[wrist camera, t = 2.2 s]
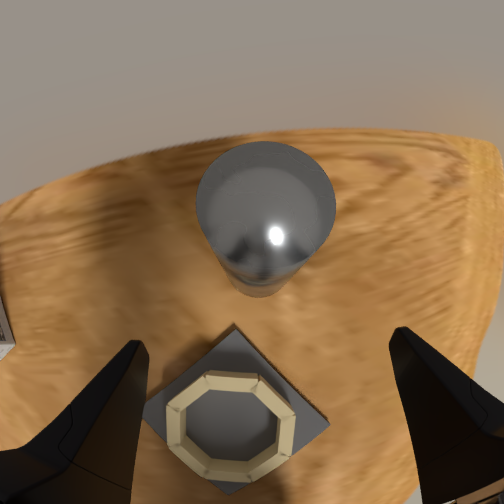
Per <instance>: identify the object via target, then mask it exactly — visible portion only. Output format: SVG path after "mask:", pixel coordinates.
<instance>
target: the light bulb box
mask: <svg viewBox="0 0 504 504" xmlns="http://www.w3.org/2000/svg"><path fill="white" fill-rule="evenodd" d="M14 346H15V342H14V339H13V336H12V333H11V330H10V327H9V324H8V321H7V318H6V315H5V311H4V308H3V304H2V300H1V296H0V361H1V359H2V358H3V357H4V356H5V355H6V354H7V353H8V352H9V351H10V350H11V349H12V348H13V347H14Z"/></svg>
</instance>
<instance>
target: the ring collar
mask: <svg viewBox="0 0 504 504" xmlns="http://www.w3.org/2000/svg"><path fill="white" fill-rule="evenodd" d="M142 418H143V419H144V420H145V421H146V422H147V423H148V424H149V425H150V426H151V427H152V428H153V430H154V431H155V432H156V433H157V434H158V435H159V436H160V437H161V438H162V439H163V440H164V441H165V442H166V443H167V446H169V449H170V450H171V451H172V452H173V453H174V454H175V455H176V456H177V457H178V458H180V459H181V460H182V461H183V462H184V463H185V464H186V465H187V466H188V467H190V468H191V469H192V470H193V471H194V472H195V473H197V474H198V475H199V476H200V477H201V478H202V477H204V479H207V480H209V481H210V482H211V483H213V484H214V485H215V486H216V487H218V488H219V489H220V490H222V491H223V492H224V493H226V494H227V495H230V494H232V493H234V492H236V491H237V490H239V489H241V488H243V487H244V486H246V485H248V484H250V483H251V482H254V481H256V480H258V479H259V478H261V477H263V476H264V475H266V474H267V473H269V472H270V471H272V470H273V469H275V468H276V467H278V466H279V465H281V464H282V463H284V462H285V461H286V460H288V459H289V458H290V457H291V456H292V455H293V454H295V453H296V452H297V451H299V450H300V449H301V448H303V447H304V446H305V445H307V444H308V443H309V442H310V441H312V440H313V439H314V438H315V437H317V436H318V435H319V434H320V433H321V432H323V431H324V430H325V429H326V428H327V427H329V426H330V423H329V422H328V421H327V420H326V419H324V418H323V417H322V416H321V415H320V414H319V413H318V412H317V411H316V410H315V409H314V408H313V407H312V406H311V405H310V404H309V403H308V402H307V401H305V400H304V399H303V398H302V397H301V396H300V395H299V394H298V393H297V392H296V391H295V390H294V389H293V388H292V387H291V386H290V385H289V384H288V383H287V382H286V381H285V380H284V379H283V378H282V377H281V376H280V375H279V374H278V373H277V372H276V371H275V370H274V369H273V368H272V366H271V365H270V364H269V363H268V362H267V361H266V360H265V359H264V358H263V357H262V356H261V355H260V354H259V353H258V352H257V351H256V350H255V349H254V348H253V346H252V345H251V344H250V343H249V342H248V341H247V340H246V339H245V338H244V337H243V336H242V335H241V333H240V332H239V331H238V330H237V329H235V330H234V331H233V332H232V333H231V334H229V335H228V336H227V337H226V338H225V339H224V340H222V341H221V342H220V343H219V344H218V345H217V346H215V347H214V348H213V349H212V350H211V351H209V352H208V353H207V354H206V355H205V356H203V357H202V358H201V359H200V360H199V361H197V362H196V363H195V364H194V365H193V366H191V367H190V368H189V369H188V370H186V371H185V372H184V373H183V374H182V375H180V376H179V377H178V378H177V379H175V380H174V381H173V382H172V383H170V384H169V385H168V386H167V387H165V388H164V389H163V390H161V391H160V392H159V393H158V394H156V395H155V396H154V397H152V398H151V399H150V400H149V401H147V402H146V403H145V405H144V410H143V415H142Z"/></svg>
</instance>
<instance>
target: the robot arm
mask: <svg viewBox="0 0 504 504" xmlns="http://www.w3.org/2000/svg"><path fill="white" fill-rule="evenodd" d="M389 351H390V356H391V360H392V365H393V370H394V375H395V380H396V384H397V388H398V391H399V395H400V398H401V402H402V405H403V409H404V412H405V416H406V420H407V424H408V428H409V432H410V436H411V441H412V445H413V450H414V455H415V460H416V465H417V471H418V476H419V482H420V489H421V495H422V503H423V504H443V503H446V502H449V501H452V500H455V501H454V502H452V503H450V504H504V403H502V402H501V401H500V400H498V399H497V398H495V397H494V396H492V395H491V394H490V393H489V392H487V391H486V390H484V389H483V388H482V387H481V386H480V385H478V384H477V383H476V382H475V381H474V380H472V379H471V378H470V377H469V376H467V375H466V374H465V373H464V372H463V371H461V370H460V369H459V368H458V367H457V366H455V365H454V364H453V363H452V362H451V361H449V360H448V359H447V358H446V357H444V356H443V355H442V354H441V353H439V352H438V351H437V350H436V349H434V348H433V347H432V346H431V345H429V344H428V343H427V342H426V341H424V340H423V339H422V338H421V337H419V336H418V335H417V334H415V333H414V332H413V331H412V330H410V329H409V328H408V327H406V326H403V327H398V328H396V329H395V331H394V333H393V335H392V337H391V339H390V341H389ZM148 368H149V354H148V352H147V350H146V348H145V346H144V343H143V342H142V341H141V340H130V341H129V342H128V343H127V344H126V345H125V346H124V347H123V348H122V349H121V350H120V351H119V352H118V353H117V354H116V355H115V356H114V357H113V358H112V359H111V360H110V361H109V363H108V364H107V365H106V366H105V367H104V368H103V369H102V370H101V371H100V372H99V373H98V374H97V375H96V376H95V377H94V378H93V379H92V380H91V381H90V382H89V383H88V384H87V386H86V387H85V388H84V389H83V390H82V391H81V392H80V393H79V394H78V395H77V396H76V397H75V398H74V399H73V400H72V402H71V403H70V404H69V405H68V406H67V407H66V408H65V409H64V410H63V411H62V412H61V413H60V414H59V415H58V416H57V417H56V418H55V419H54V420H53V421H52V422H51V423H50V424H49V425H48V426H47V427H46V428H44V429H43V430H42V431H41V432H40V433H39V434H37V435H36V436H35V437H34V438H33V439H32V440H31V441H29V442H28V443H27V444H25V445H24V446H22V447H20V448H17V449H11V450H5V451H0V504H130V501H131V490H132V481H133V473H134V465H135V458H136V451H137V444H138V438H139V432H140V426H141V421H142V415H143V410H144V405H145V399H146V390H147V379H148Z"/></svg>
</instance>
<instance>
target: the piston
mask: <svg viewBox="0 0 504 504" xmlns="http://www.w3.org/2000/svg"><path fill="white" fill-rule="evenodd" d="M196 212H197V217H198V221H199V224H200V226H201V229H202V231H203V232H204V234H205V236H206V238H207V240H208V242H209V244H210V245H211V247H212V249H213V251H214V253H215V255H216V257H217V258H218V260H219V262H220V264H221V266H222V267H223V269H224V271H225V273H226V275H227V277H228V278H229V280H230V282H231V284H232V285H233V286H234V287H235V288H236V289H237V290H238V291H239V292H241V293H242V294H244V295H247V296H250V297H255V298H262V297H267V296H270V295H273V294H274V293H276V292H278V291H279V290H280V289H281V288H282V287H283V286H284V285H285V284H286V283H287V282H288V281H289V280H290V279H291V278H292V277H293V275H294V274H295V273H296V272H297V271H298V270H299V269H300V268H301V267H302V266H303V265H304V264H305V263H306V262H307V260H308V259H309V258H310V257H311V256H312V255H313V254H314V253H315V252H316V251H317V250H318V248H319V247H320V246H321V245H322V244H323V243H324V241H325V240H326V238H327V237H328V235H329V233H330V231H331V229H332V227H333V223H334V220H335V214H336V200H335V194H334V190H333V187H332V184H331V182H330V180H329V178H328V176H327V175H326V173H325V172H324V170H323V169H322V168H321V166H320V165H319V164H318V163H317V162H316V161H315V160H313V159H312V158H311V157H310V156H308V155H307V154H305V153H304V152H302V151H300V150H298V149H296V148H294V147H292V146H289V145H286V144H282V143H277V142H269V141H260V142H251V143H247V144H243V145H240V146H237V147H234V148H232V149H230V150H228V151H227V152H225V153H223V154H222V155H221V156H219V157H218V158H217V159H216V160H215V161H214V162H213V163H212V164H211V165H210V166H209V167H208V169H207V170H206V171H205V173H204V175H203V177H202V179H201V181H200V183H199V186H198V190H197V195H196Z"/></svg>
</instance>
